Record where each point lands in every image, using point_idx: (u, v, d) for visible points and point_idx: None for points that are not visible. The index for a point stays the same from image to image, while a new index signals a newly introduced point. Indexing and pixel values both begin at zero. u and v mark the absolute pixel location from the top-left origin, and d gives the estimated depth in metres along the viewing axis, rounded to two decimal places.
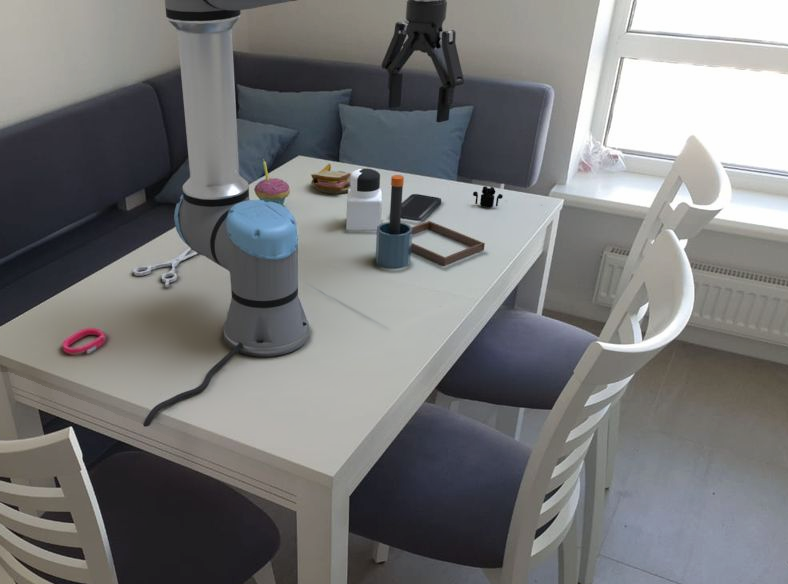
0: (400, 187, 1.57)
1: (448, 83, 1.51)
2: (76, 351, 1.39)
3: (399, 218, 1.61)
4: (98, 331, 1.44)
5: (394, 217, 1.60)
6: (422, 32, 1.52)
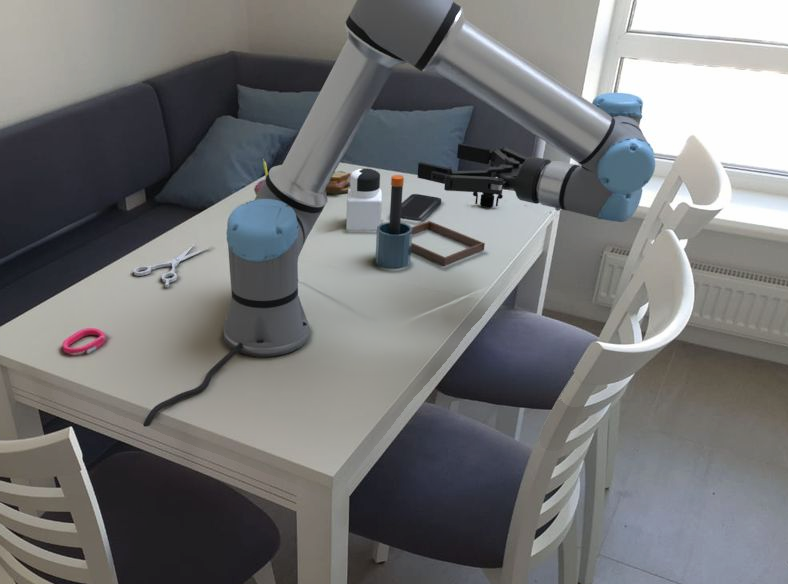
0: (400, 187, 1.57)
1: (450, 174, 1.39)
2: (76, 351, 1.39)
3: (399, 218, 1.61)
4: (98, 331, 1.44)
5: (394, 217, 1.60)
6: (514, 170, 1.39)
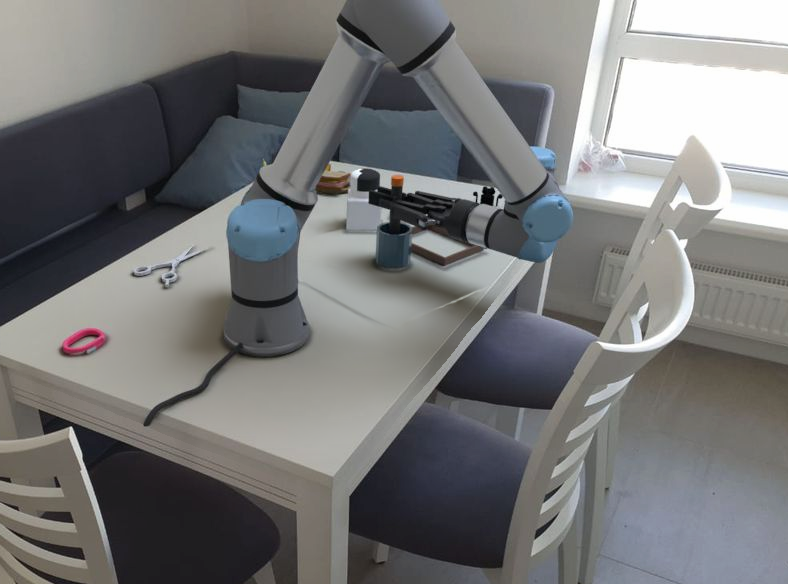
0: (400, 187, 1.57)
1: (394, 202, 1.56)
2: (76, 351, 1.39)
3: None
4: (98, 331, 1.44)
5: None
6: (447, 211, 1.52)
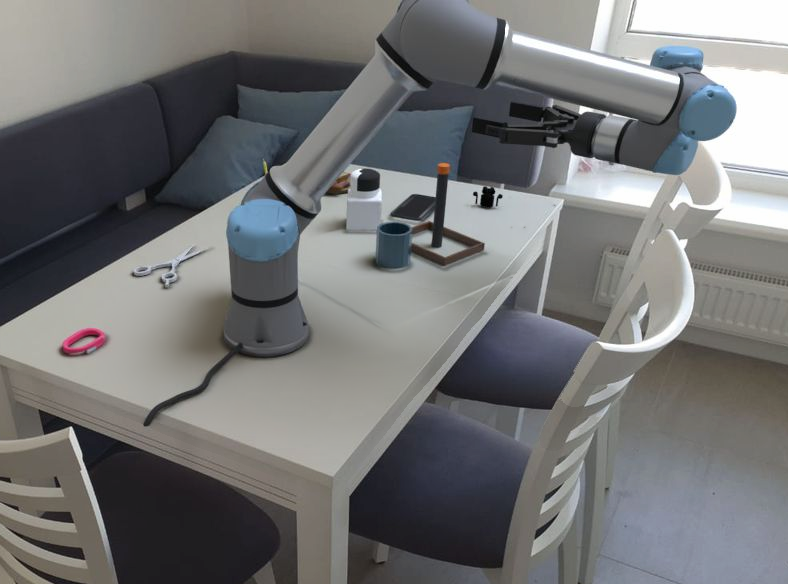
0: (446, 175, 1.63)
1: (506, 128, 1.41)
2: (76, 351, 1.39)
3: (444, 205, 1.67)
4: (98, 331, 1.44)
5: (440, 204, 1.66)
6: (568, 125, 1.41)
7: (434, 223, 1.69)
